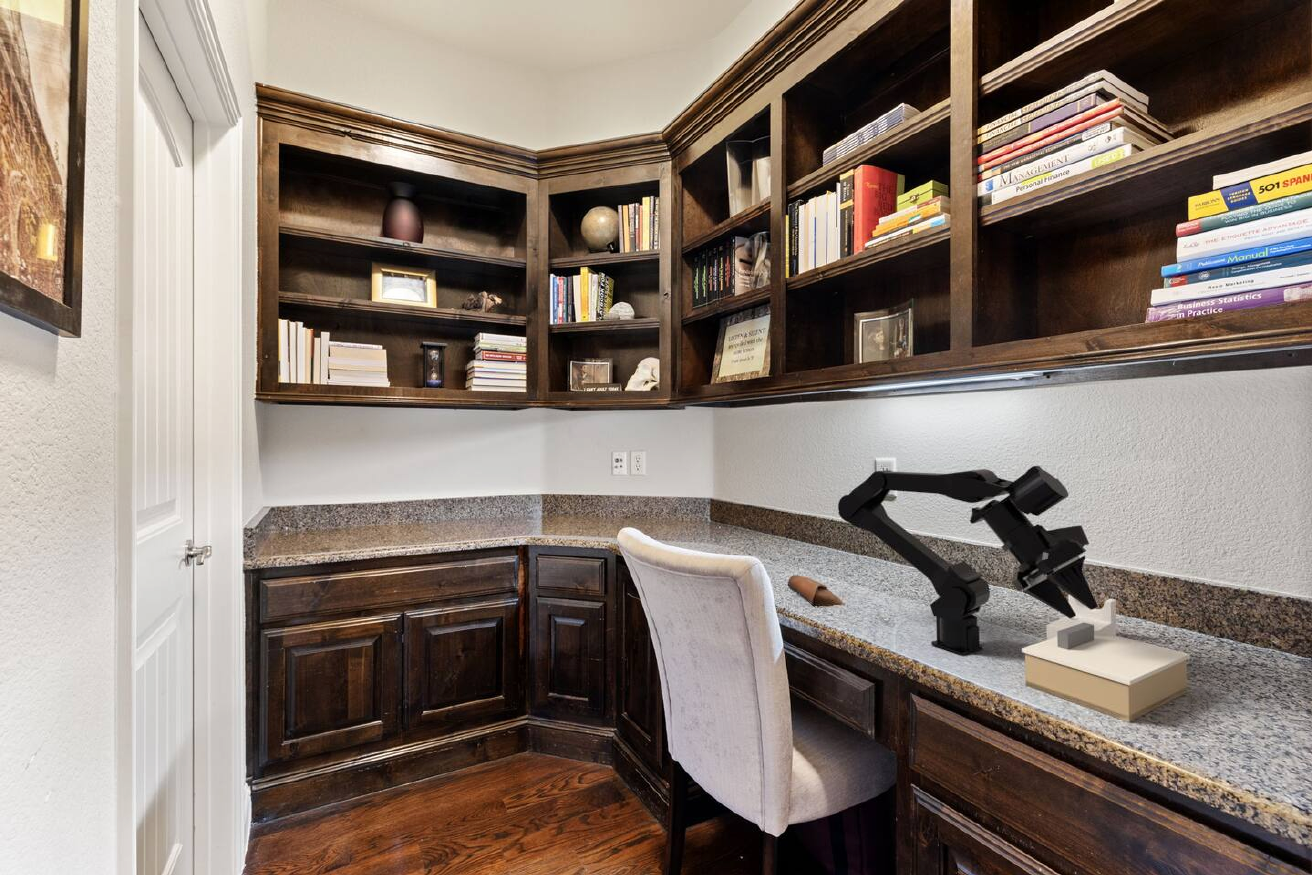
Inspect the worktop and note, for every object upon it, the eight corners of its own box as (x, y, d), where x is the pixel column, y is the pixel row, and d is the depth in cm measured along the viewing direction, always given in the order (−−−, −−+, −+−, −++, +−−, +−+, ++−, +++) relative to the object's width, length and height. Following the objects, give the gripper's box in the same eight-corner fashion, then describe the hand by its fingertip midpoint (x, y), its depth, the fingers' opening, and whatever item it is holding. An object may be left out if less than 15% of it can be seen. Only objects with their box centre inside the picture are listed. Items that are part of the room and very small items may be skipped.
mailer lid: (1022, 652, 95) (1021, 632, 95) (1084, 630, 104) (1083, 613, 104) (1129, 685, 83) (1129, 663, 83) (1190, 657, 92) (1189, 637, 92)
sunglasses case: (847, 604, 140) (833, 581, 139) (823, 621, 139) (808, 598, 139) (818, 585, 158) (805, 564, 157) (796, 600, 157) (783, 579, 157)
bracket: (1073, 629, 121) (1073, 592, 121) (1116, 638, 116) (1115, 599, 116) (1046, 643, 114) (1046, 604, 114) (1090, 654, 108) (1090, 612, 108)
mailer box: (1025, 685, 95) (1025, 654, 95) (1085, 662, 104) (1085, 633, 104) (1128, 722, 83) (1128, 686, 83) (1187, 692, 92) (1186, 659, 92)
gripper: (1076, 490, 96) (1156, 576, 88) (1039, 523, 112) (1104, 598, 104) (1014, 524, 96) (1088, 613, 88) (986, 552, 112) (1047, 629, 105)
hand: (1083, 612), depth 96 cm, fingers open, 9 cm apart
